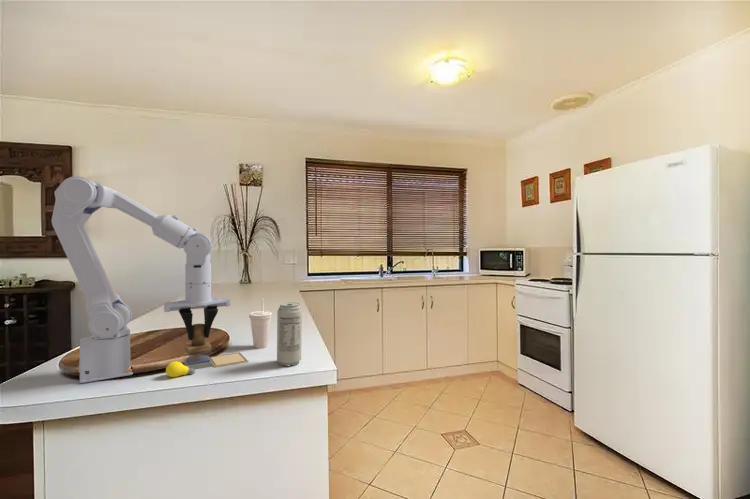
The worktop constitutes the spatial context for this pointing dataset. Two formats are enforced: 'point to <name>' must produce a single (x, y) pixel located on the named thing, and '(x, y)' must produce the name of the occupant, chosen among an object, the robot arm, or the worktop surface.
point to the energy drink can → (289, 333)
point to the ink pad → (198, 362)
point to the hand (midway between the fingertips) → (198, 337)
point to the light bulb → (178, 369)
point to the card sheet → (228, 359)
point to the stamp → (198, 341)
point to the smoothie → (260, 327)
